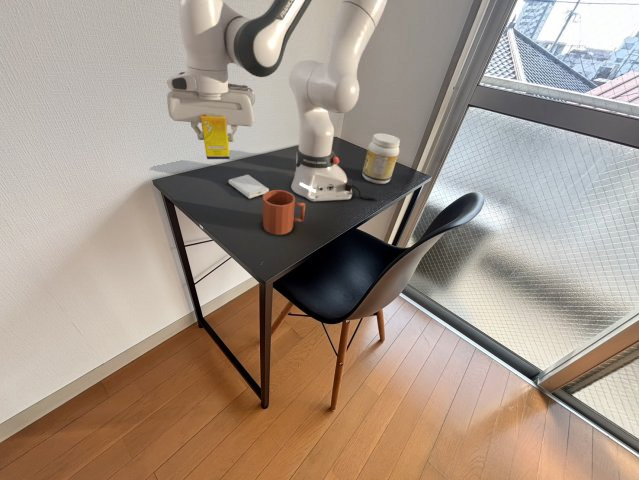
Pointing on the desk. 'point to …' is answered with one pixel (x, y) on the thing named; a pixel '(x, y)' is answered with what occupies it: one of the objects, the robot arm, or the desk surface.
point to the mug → (280, 212)
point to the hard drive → (248, 186)
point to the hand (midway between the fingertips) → (216, 140)
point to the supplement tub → (381, 158)
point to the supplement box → (215, 137)
